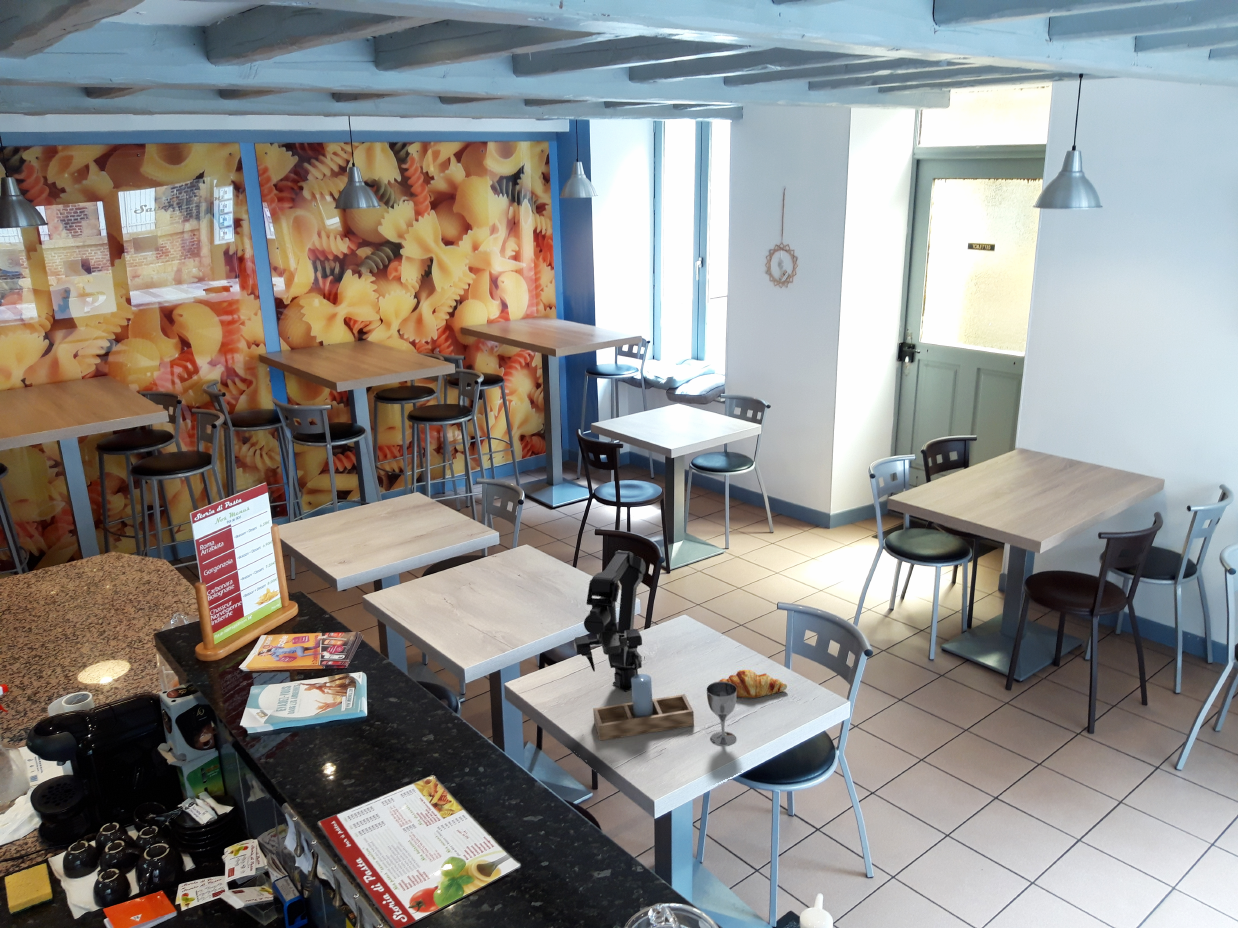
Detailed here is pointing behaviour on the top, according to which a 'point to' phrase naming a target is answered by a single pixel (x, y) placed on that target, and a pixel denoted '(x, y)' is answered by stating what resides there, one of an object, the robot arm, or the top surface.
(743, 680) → the croissant
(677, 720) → the rack
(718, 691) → the wine glass
